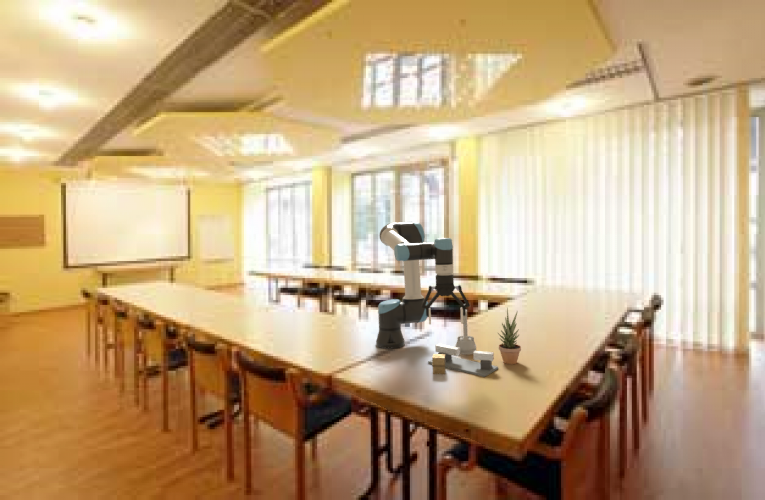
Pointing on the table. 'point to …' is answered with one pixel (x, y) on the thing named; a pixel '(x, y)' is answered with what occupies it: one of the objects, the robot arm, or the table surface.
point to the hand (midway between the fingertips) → (446, 323)
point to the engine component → (466, 340)
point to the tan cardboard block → (438, 363)
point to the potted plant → (509, 342)
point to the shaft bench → (468, 365)
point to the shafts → (456, 351)
